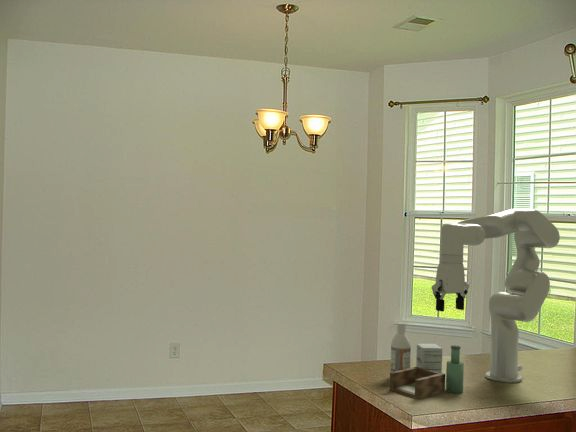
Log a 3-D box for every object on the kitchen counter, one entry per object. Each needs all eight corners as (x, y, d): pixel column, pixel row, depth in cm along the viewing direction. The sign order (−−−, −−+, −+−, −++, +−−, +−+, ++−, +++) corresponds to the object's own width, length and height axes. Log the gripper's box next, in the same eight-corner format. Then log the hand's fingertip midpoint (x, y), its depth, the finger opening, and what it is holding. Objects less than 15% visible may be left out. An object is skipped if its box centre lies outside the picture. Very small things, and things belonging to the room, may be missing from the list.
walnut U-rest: (416, 383, 213) (416, 366, 213) (444, 392, 204) (445, 374, 204) (389, 390, 204) (390, 372, 204) (418, 399, 195) (419, 380, 195)
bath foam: (399, 381, 215) (401, 325, 215) (386, 377, 221) (387, 322, 221) (413, 379, 219) (415, 323, 219) (400, 375, 225) (401, 320, 225)
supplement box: (415, 378, 221) (416, 343, 221) (435, 378, 222) (436, 343, 222) (421, 383, 214) (422, 347, 214) (442, 383, 214) (443, 347, 214)
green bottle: (452, 387, 210) (453, 344, 210) (466, 391, 205) (467, 347, 205) (442, 390, 206) (443, 345, 206) (456, 394, 202) (457, 348, 202)
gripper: (460, 259, 216) (458, 307, 216) (425, 259, 206) (423, 309, 206) (477, 260, 209) (475, 310, 209) (442, 261, 200) (440, 313, 200)
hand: (449, 310), depth 208 cm, fingers open, 9 cm apart
